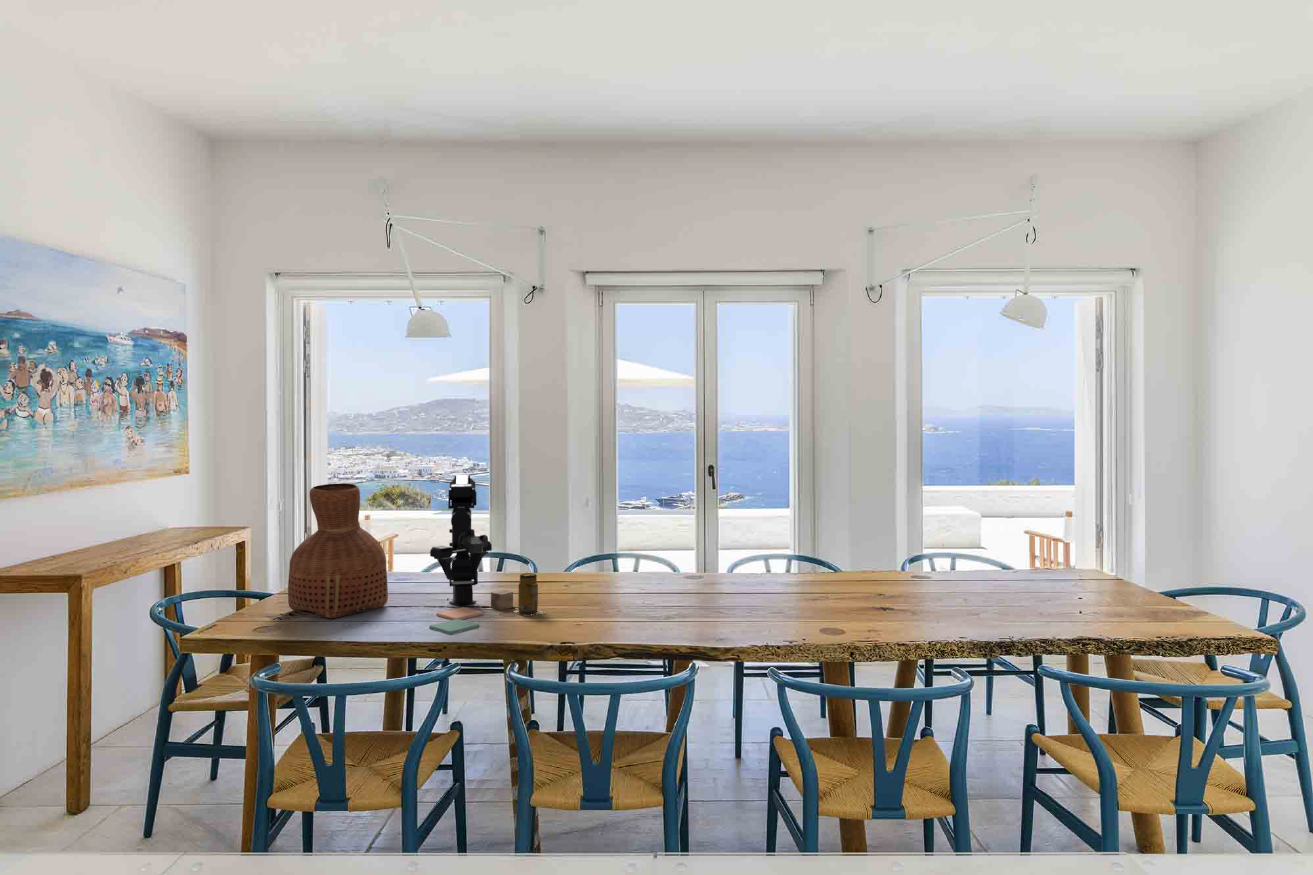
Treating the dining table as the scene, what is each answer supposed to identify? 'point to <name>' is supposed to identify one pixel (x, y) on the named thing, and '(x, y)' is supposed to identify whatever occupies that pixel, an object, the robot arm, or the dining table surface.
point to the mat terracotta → (459, 613)
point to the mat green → (454, 626)
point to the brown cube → (501, 599)
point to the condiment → (528, 595)
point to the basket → (337, 559)
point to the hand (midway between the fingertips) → (461, 577)
